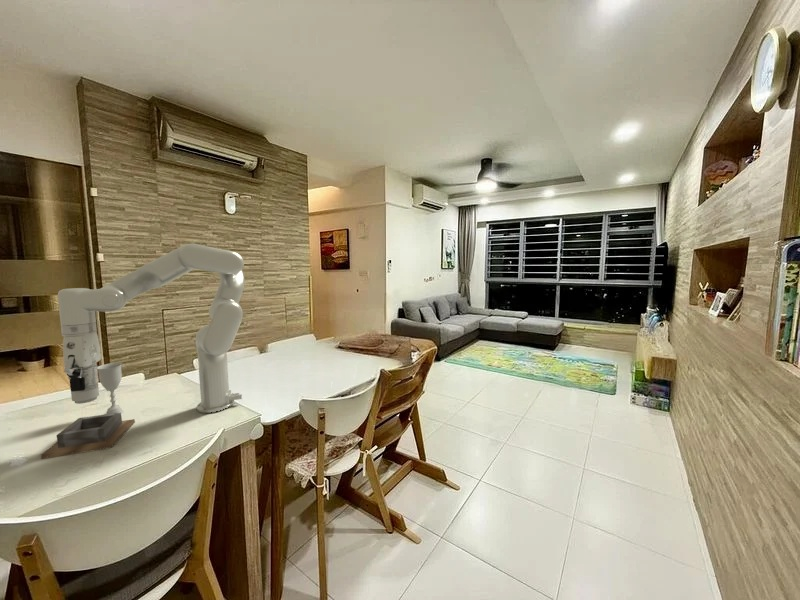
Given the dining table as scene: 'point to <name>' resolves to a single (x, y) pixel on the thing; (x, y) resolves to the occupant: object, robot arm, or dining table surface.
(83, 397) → the energy drink can
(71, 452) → the socket block
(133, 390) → the dining table surface
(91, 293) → the robot arm
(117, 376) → the chalice
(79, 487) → the dining table surface
